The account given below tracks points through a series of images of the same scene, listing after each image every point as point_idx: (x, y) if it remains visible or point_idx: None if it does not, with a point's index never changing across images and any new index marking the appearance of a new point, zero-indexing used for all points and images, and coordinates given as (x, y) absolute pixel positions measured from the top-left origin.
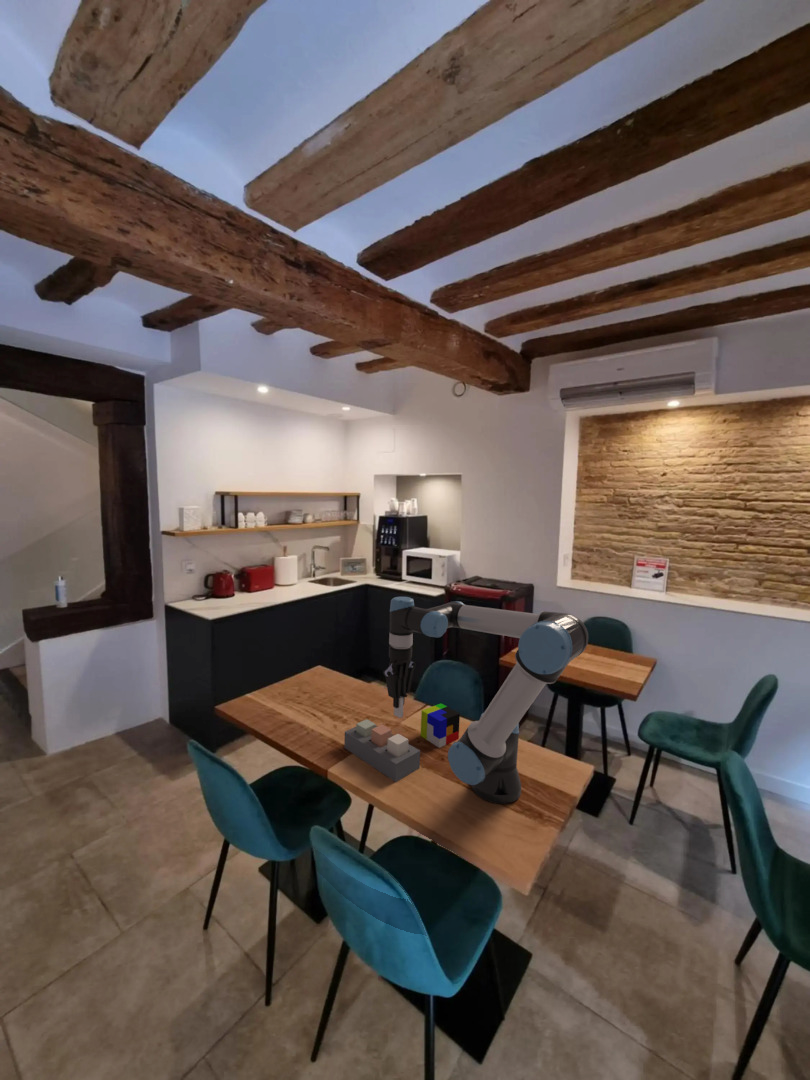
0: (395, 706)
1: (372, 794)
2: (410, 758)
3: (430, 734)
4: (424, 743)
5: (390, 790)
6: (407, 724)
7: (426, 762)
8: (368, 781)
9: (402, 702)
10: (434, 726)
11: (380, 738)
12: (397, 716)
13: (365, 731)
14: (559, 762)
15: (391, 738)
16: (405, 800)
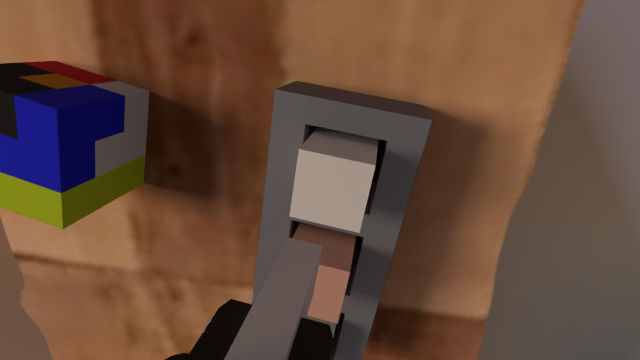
0: (331, 347)
1: (535, 134)
2: (340, 99)
3: (126, 144)
4: (167, 148)
5: (479, 93)
6: (128, 249)
7: (251, 79)
8: (473, 186)
9: (256, 330)
10: (93, 136)
11: (351, 263)
12: (317, 268)
13: (332, 333)
14: None
15: (346, 220)
16: (506, 6)
